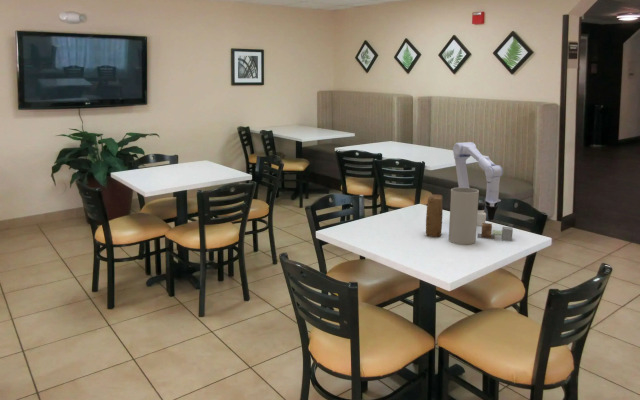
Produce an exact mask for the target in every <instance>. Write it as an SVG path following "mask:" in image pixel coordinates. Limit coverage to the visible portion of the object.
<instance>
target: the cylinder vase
mask: <svg viewBox="0 0 640 400" xmlns="http://www.w3.org/2000/svg"><path fill="white" fill-rule="evenodd" d="M479 192H480V191H479V189H477V188H472V187H469V188H459V187H453V188H451V189H450V202H449V203H450V204H449V205H450V207H449V208H450V209H449V222H448V223H449V224H448V225H449V226H448V227H449V228H448V241H449V242H450V243H452V244H456V245H463V246H464V245H472V244H475V243H476V239H477V227H478V226H477V212H478V202H479V195H480V194H479Z"/></svg>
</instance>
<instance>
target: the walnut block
mask: <svg viewBox="0 0 640 400" xmlns="http://www.w3.org/2000/svg"><path fill="white" fill-rule="evenodd" d="M492 228H493V225H492V223H487V222H485V223H482V226H481V233H480V234H481V237H485V238H491V235H492V232H493V230H492Z"/></svg>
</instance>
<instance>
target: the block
mask: <svg viewBox="0 0 640 400" xmlns="http://www.w3.org/2000/svg"><path fill="white" fill-rule="evenodd" d="M443 199H444V198H443V195H442V194H430V195H428V198H427V204H426V217H425V235H426V236H428V237H432V238H433V237H434V238H436V237H437V238H438V237H440V236H441V235H442V229H443V211H444V210H443V208H444V207H443V206H444V205H443V201H444V200H443Z"/></svg>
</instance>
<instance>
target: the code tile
mask: <svg viewBox="0 0 640 400" xmlns="http://www.w3.org/2000/svg"><path fill="white" fill-rule="evenodd" d="M481 234H482V233H477V239H488V240H495V239H496V237H495V236H496V235H493V234H491V238H485V237H481Z"/></svg>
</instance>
